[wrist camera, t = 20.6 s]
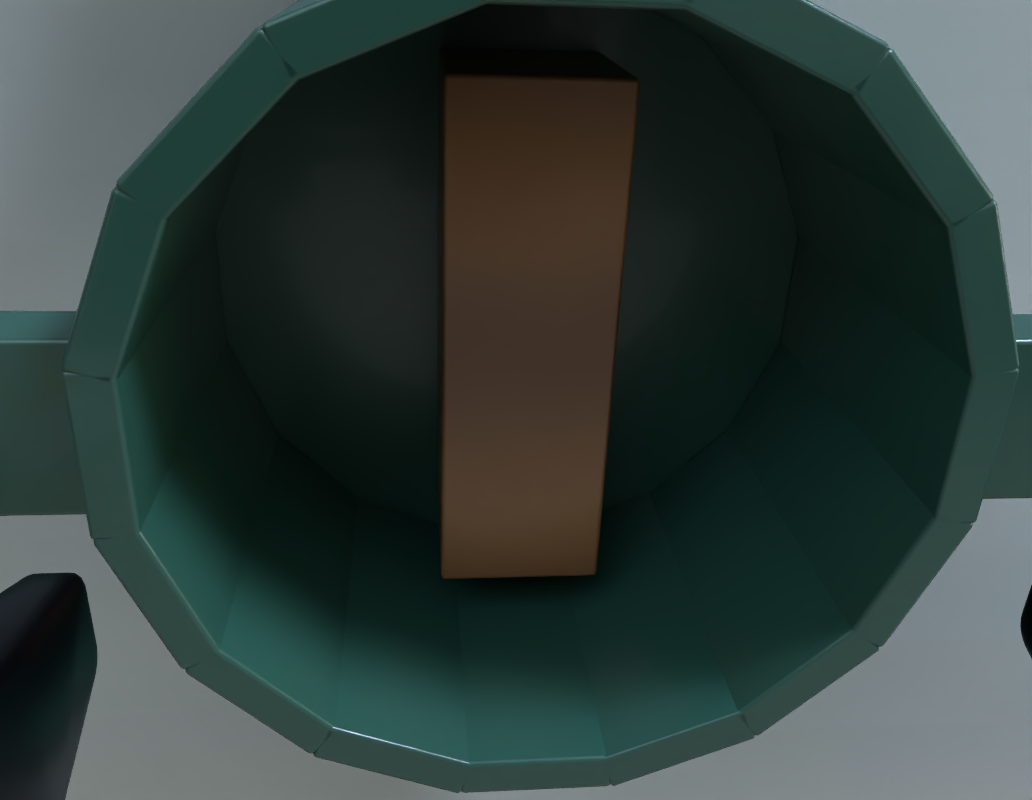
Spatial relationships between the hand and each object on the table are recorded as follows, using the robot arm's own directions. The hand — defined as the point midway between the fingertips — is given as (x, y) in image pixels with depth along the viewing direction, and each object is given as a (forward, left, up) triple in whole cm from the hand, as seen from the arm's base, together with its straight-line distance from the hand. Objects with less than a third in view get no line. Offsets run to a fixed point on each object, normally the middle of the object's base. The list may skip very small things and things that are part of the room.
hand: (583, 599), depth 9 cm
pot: (0, 0, -9) cm, 9 cm away
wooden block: (0, 0, -9) cm, 9 cm away
